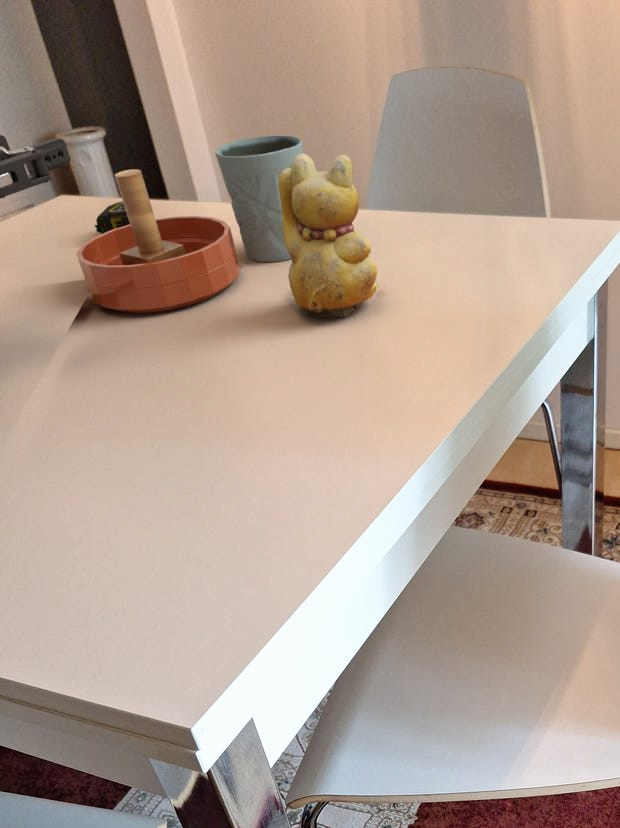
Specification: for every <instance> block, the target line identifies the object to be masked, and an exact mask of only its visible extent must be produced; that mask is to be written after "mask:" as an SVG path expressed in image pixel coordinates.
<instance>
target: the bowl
mask: <svg viewBox="0 0 620 828" xmlns="http://www.w3.org/2000/svg"><path fill="white" fill-rule="evenodd" d="M155 220H156V223H157V226H158V230H159V233H160V236H161V240H163V241H168V242H173V243H177V244H182V245H184V249H185V252H186V254H185V255H182V256H179V257H175V258H171V259H167V260H162V261H158V262H152V263H144V264H136V265H123V263H122V260H121V257H120V254H119V253H121V252H123V251H126V250H129V249H131V248H134V247H136V246H137V244H136V241H135V238H134V234H133V231H132V228H131V225H126V226H123V227H120V228H117V229H113V230H110V231H108V232H106V233H103V234H101V233H100V234H98V235H97V236H95V237H92V238H91V239H89V240H88V241H86V242H84V244H82V245H80V247H79V248H78V250H77V251H76V253H75V254H76V255H75V256H76V258H77V260H78V263H79V266H80V268H81V270H82V275H83V276H84V279H85V282H86V285H87V288H88V290H89V293H90V296H91V299H92V301H93V303H95V304H97V305H99V306H101V307H103V308H106V309H112V310H115V311H117V312H118V311H119V312H122V313H130V314H131V313H132V314H147V313H158V312H165V311H171V310H176V309H180V308H184V307H188V306H191V305H195V304H198V303H200V302H203V301H206V300H208V299H211V298H212V297H214V296H216V295H218V294H219V293H221V292H222V291H224V290H225V289H226V288H227V287H228V286H229V285H231V284H232V283H233V282H234V281H235V280H236V279H238V277H239V275H240V271H241V266H240V262H239V258H238V253H237V248H236V245H235V241H234V238H233V234H232V228H231V226H230V225H229V224H228V223H227V222H226V221H225V220H222V219H219V218H215V217H211V216H203V215H202V216H201V215H183V216H168V217H161V218H155Z"/></svg>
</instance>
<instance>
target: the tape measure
mask: <svg viewBox="0 0 620 828" xmlns="http://www.w3.org/2000/svg"><path fill="white" fill-rule="evenodd" d="M95 221H96V224H94V228H96V229H95V230H96V233H99V234H100V235H101V234H103V233H106V232H108V231H110V230H113V229H117V228H120V227H123V226H126V225H130V222H129V219H128V216H127V212H126V209H125V206H124V203H123V200H122V201H117V202H115V203H112V204H110V205H107V207H106V208H105V209H104V210H103V211H102V212H100V214H99V215H98V216H97V217H96V220H95Z"/></svg>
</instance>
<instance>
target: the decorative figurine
mask: <svg viewBox="0 0 620 828" xmlns="http://www.w3.org/2000/svg"><path fill="white" fill-rule="evenodd" d="M353 165H354V164H353V161H352V159H351V158H350V156H348V155H347V154H340V155H338V156H336V157H335V158H334V159H333V161H332V162H331V163H330V165H329V168H328V170H327V171H318V170H317V168H316V165H315V162H314V161H313V159H312V158H311V157H310V156H309V155H308V154H305V153H304V152H303V153H301V154H298V155H297V156H295V158H294V159H293V163H292V166H291V168H287V169H284V170H283V171H282V172H281V173H280V175H279V182H278V183H279V192H280V199H281V208H282V226H283V236H284V241H285V245H286V249H287V251H288V253H289V255H290V257H291V259H290V260H291V263H290V264H289V268H288V275H287V276H288V283H289V287H290V290H291V293H292V296H293V298H294V302H295V304H296V305H297V306H298V307H300V308H303V309H304V316H307V317H308V316H309V317H310V316H314V317H315V316H317V317H331V318H347V316H349V315H350V314H351V313H352V312H353V311H354V310H355V309H359V308H360V307H361V305H363V304H364V302H366V301H368V300H370V299H371V298H372V297H373V296H374V294H375V293H376V291H377V287H378V285H377V283H376V280H377V276H378V268H377V264H376V262H375V261H374V259H373V258H372V257H371V256H369V255H370V253H371V251H372V247H371V243H370V240H369V239H368V238H366V237H365V236H364V235H363V236H362V235H360V233H357V232H356V231H355V230H354V229H355V227H354V224H353V222H354V220H355V219H356V218H357V216H358V214H359V213H358V212H359V208H360V195H359V194H358V192H357V189H356V187H355V186H354V182H353V181H354V166H353Z"/></svg>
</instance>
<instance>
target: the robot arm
mask: <svg viewBox="0 0 620 828" xmlns="http://www.w3.org/2000/svg"><path fill="white" fill-rule="evenodd" d="M70 163H71V156H70V153H69V150H68V147H67V144H66V141H65V140H64V138H63V139H62V138H57V137H56V138H55V137H54V138H51V139H48V140H45V141H43V142H40V143H37V144H34V145H30V146H24V147H23V148H17V149H12V150H11V148H10V146H9V143H8V140H7V138H6V137H5V135H3V134H0V199H5V198H6V197H8V196H11V195H15V194H16V193H19V192H21V191H25V190H28V189H30V188H33V187H36V186H39V185H41V184H47V183H49V182H50V181H51V180H52V175H51V173H50V171H53V170H56V169H59V168H61V167H64V166H67V165H69V164H70Z"/></svg>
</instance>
